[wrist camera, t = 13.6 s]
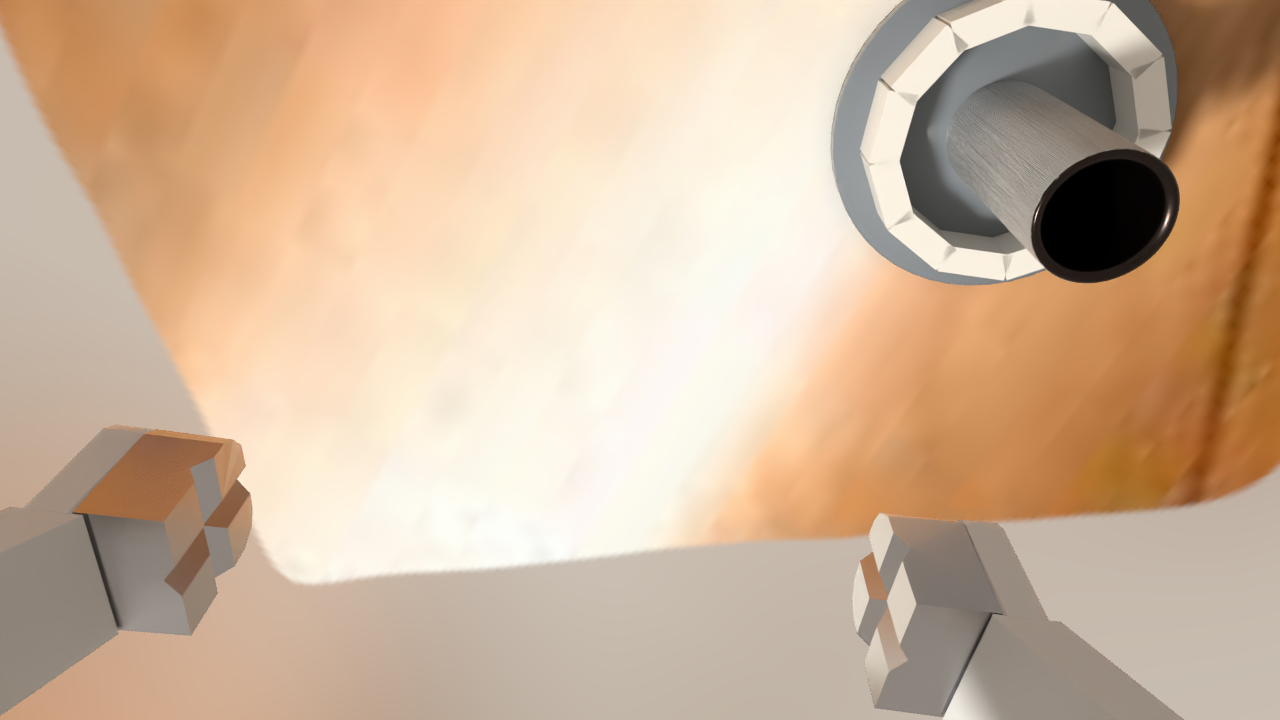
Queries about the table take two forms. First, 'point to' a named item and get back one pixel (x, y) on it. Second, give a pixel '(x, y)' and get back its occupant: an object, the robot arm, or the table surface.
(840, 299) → the table surface
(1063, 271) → the grey cylinder
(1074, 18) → the ring dish
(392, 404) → the table surface
